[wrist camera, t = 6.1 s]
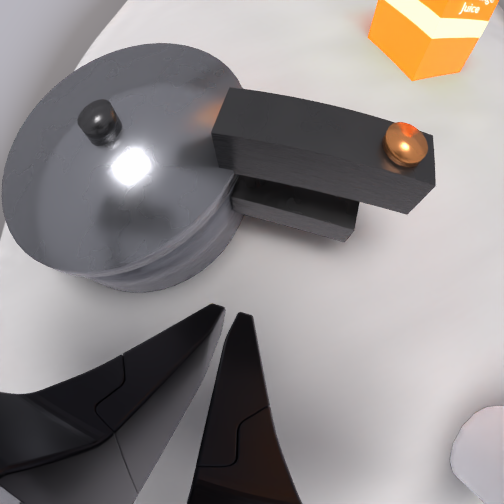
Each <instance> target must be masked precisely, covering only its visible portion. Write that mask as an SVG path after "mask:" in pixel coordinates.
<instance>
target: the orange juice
mask: <svg viewBox="0 0 504 504" xmlns="http://www.w3.org/2000/svg"><path fill="white" fill-rule="evenodd" d="M498 1H499V0H378V3H377V6H376V10H375V14H374V17H373V21H372V25H371V28H370V32H369V35H368V38H369V39H370V40H371V41H372V42H373V43H374V44H375V45H377V46H378V47H379V48H380V49H381V50H382V51H383V52H384V53H385V54H386V55H387V56H388V57H389V58H390V59H391V60H392V61H393V62H394V63H395V64H396V65H397V66H398V67H399V68H400V69H401V70H402V71H403V72H404V73H405V74H406V75H407V76H408V77H409V78H410V79H411V81H415V80H419V79H424V78H429V77H435V76H440V75H446V74H452V73H458V72H460V71H461V69H462V67H463V65H464V64H465V62H466V60H467V59H468V57H469V55H470V53H471V52H472V50H473V48H474V46H475V45H476V43H477V41H478V39H479V38H480V36H481V35H482V33H483V31H484V29H485V27H486V25H487V24H488V22H489V19H490V17H491V15H492V13H493V11H494V9H495V7H496V5H497V3H498Z"/></svg>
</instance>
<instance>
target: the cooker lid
mask: <svg viewBox="0 0 504 504" xmlns="http://www.w3.org/2000/svg"><path fill="white" fill-rule="evenodd" d="M239 175H243V176H249V177H254V178H259V179H264V180H269V181H273V182H278V183H283V184H288V185H292V186H297V187H301V188H306V189H310V190H314V191H319V192H323V193H327V194H331V195H335V196H339V197H343V198H347V199H351V200H355V201H359V202H363V203H367V204H371V205H374V206H378V207H382V208H386V209H389V210H393V211H396V212H400V213H403V214H408V213H409V212H410V211H411V210H412V209H413V208H414V207H415V206H416V205H417V204H418V203H419V202H420V201H421V200H422V199H423V198H424V197H425V196H426V195H427V194H428V193H429V192H430V191H431V190H432V189H433V188H434V187H435V186H436V185H435V160H434V145H433V135H430V134H427V133H424V132H421V131H419V130H418V129H417V128H415V127H414V126H412V125H410V124H407V123H403V122H397V123H394V122H391V121H388V120H385V119H381V118H378V117H374V116H371V115H367V114H364V113H360V112H356V111H353V110H349V109H345V108H341V107H337V106H333V105H328V104H324V103H319V102H315V101H310V100H305V99H300V98H295V97H290V96H285V95H279V94H273V93H267V92H261V91H254V90H247V89H243V88H242V87H241V85H240V83H239V81H238V79H237V77H236V76H235V75H234V74H233V72H232V71H231V70H230V69H229V68H228V67H227V66H226V65H225V64H224V63H222V62H221V61H220V60H219V59H217V58H215V57H214V56H212V55H211V54H209V53H206V52H204V51H202V50H199V49H196V48H193V47H189V46H185V45H178V44H167V43H156V44H144V45H138V46H132V47H128V48H125V49H121V50H118V51H115V52H112V53H109V54H106V55H104V56H102V57H100V58H97V59H95V60H93V61H91V62H89V63H88V64H86V65H84V66H82V67H81V68H79V69H77V70H76V71H74V72H73V73H71V74H70V75H69V76H67V77H66V78H65V79H63V80H62V81H61V82H60V83H59V84H57V85H56V86H55V87H54V88H53V89H52V90H51V91H50V92H49V93H48V94H47V95H46V96H45V97H44V98H43V99H42V100H41V101H40V102H39V103H38V104H37V106H36V107H35V108H34V109H33V111H32V112H31V113H30V115H29V116H28V118H27V119H26V121H25V122H24V124H23V125H22V127H21V128H20V130H19V132H18V134H17V136H16V138H15V140H14V142H13V145H12V147H11V150H10V152H9V155H8V158H7V162H6V165H5V169H4V175H3V180H2V206H3V211H4V216H5V220H6V223H7V225H8V228H9V231H10V233H11V234H12V236H13V238H14V239H15V241H16V243H17V244H18V245H19V246H20V247H21V248H22V249H23V250H24V252H25V253H27V254H28V255H29V256H31V257H32V258H33V259H35V260H36V261H38V262H40V263H42V264H44V265H46V266H48V267H51V268H53V269H55V270H58V271H60V272H63V273H66V274H70V275H74V276H82V277H103V276H112V275H116V274H121V273H125V272H129V271H132V270H135V269H137V268H140V267H143V266H145V265H148V264H150V263H152V262H154V261H156V260H158V259H159V258H161V257H163V256H165V255H167V254H169V253H170V252H171V251H173V250H174V249H176V248H177V247H179V246H180V245H182V244H183V243H185V242H186V241H187V240H188V239H189V238H191V237H192V236H193V235H194V234H195V233H196V232H197V231H199V230H200V229H201V228H202V227H203V226H204V225H205V224H206V223H207V222H208V221H209V219H210V218H211V217H212V216H213V215H214V214H215V213H216V212H217V210H218V209H219V208H220V206H221V205H222V204H223V202H224V201H225V199H226V198H227V197H228V195H229V194H230V192H231V190H232V188H233V186H234V184H235V183H236V181H237V179H238V177H239Z"/></svg>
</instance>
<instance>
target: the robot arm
mask: <svg viewBox="0 0 504 504" xmlns="http://www.w3.org/2000/svg"><path fill="white" fill-rule="evenodd" d="M224 316H225V307H223V306H220V305H216V304H210V305H208V306H206V307H204V308H203V309H201V310H199V311H198V312H196V313H194V314H192V315H191V316H189V317H187V318H185V319H184V320H182V321H180V322H178V323H177V324H175V325H173V326H171V327H170V328H168V329H166V330H164V331H163V332H161V333H159V334H157V335H156V336H154V337H152V338H150V339H148V340H147V341H145V342H143V343H141V344H140V345H138V346H136V347H134V348H132V349H131V350H129V351H127V352H125V353H124V354H123V355H120V356H118V357H116V358H114V359H112V360H111V361H109V362H107V363H105V364H103V365H101V366H99V367H97V368H95V369H92V370H90V371H88V372H86V373H83V374H81V375H79V376H76V377H74V378H71V379H69V380H66V381H63V382H61V383H58V384H56V385H53V386H50V387H48V388H45V389H43V390H40V391H37V392H33V393H28V394H11V393H4V392H0V504H133V503H134V501H135V499H136V497H137V496H138V494H139V492H140V490H141V489H142V487H143V485H144V484H145V482H146V480H147V478H148V477H149V475H150V473H151V471H152V470H153V468H154V466H155V464H156V463H157V461H158V459H159V457H160V456H161V454H162V452H163V450H164V449H165V447H166V445H167V443H168V442H169V440H170V438H171V436H172V434H173V433H174V431H175V429H176V427H177V426H178V424H179V422H180V420H181V418H182V417H183V415H184V413H185V411H186V410H187V408H188V406H189V404H190V402H191V401H192V399H193V397H194V395H195V393H196V392H197V390H198V388H199V386H200V384H201V382H202V380H203V378H204V376H205V374H206V371H207V369H208V366H209V364H210V361H211V359H212V356H213V353H214V351H215V348H216V345H217V343H218V340H219V338H220V335H221V332H222V327H223V322H224ZM269 406H270V404H269V399H268V394H267V388H266V383H265V378H264V373H263V367H262V362H261V357H260V351H259V346H258V341H257V335H256V330H255V325H254V319H253V316H252V315H249V314H246V313H243V312H239V313H238V314H237V316H236V318H235V320H234V322H233V324H232V326H231V328H230V330H229V332H228V334H227V336H226V339H225V342H224V345H223V350H222V354H221V358H220V363H219V367H218V371H217V376H216V380H215V384H214V389H213V393H212V397H211V402H210V406H209V411H208V415H207V419H206V424H205V428H204V433H203V437H202V441H201V446H200V450H199V455H198V459H197V464H196V469H195V472H194V477H193V481H192V485H191V489H190V493H189V497H188V501H187V504H302V502H301V500H300V498H299V495H298V493H297V491H296V488H295V485H294V483H293V480H292V478H291V475H290V472H289V470H288V467H287V464H286V462H285V459H284V456H283V454H282V451H281V448H280V445H279V442H278V438H277V435H276V431H275V427H274V423H273V419H272V414H271V408H270V407H269Z"/></svg>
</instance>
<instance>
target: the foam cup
mask: <svg viewBox="0 0 504 504" xmlns="http://www.w3.org/2000/svg"><path fill="white" fill-rule="evenodd" d="M450 463H451V467H452V472H453V473H454V474H455V475H456V477H457V478H459V479H460V480H461V481H462V482H463V483H464V484H465V485H466V486H467V487H468V488H469V489H470V490H471V491H472V492H473V493H474V494H475V495H476V496H478V497H479V498H480V499H481V500H482V501H483V502H484V503H485V504H504V406H492V407H486V408H484V409H482V410H480V411H478V412H476V413H474V414H473V415H472V416H471V418H470V419H469V420H468V421H467V422H466V423H465V424H464V425H463V426H462V428H461V430H460V431H459V433H458V435H457V437H456V439H455V441H454V443H453V447H452V452H451V457H450Z"/></svg>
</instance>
